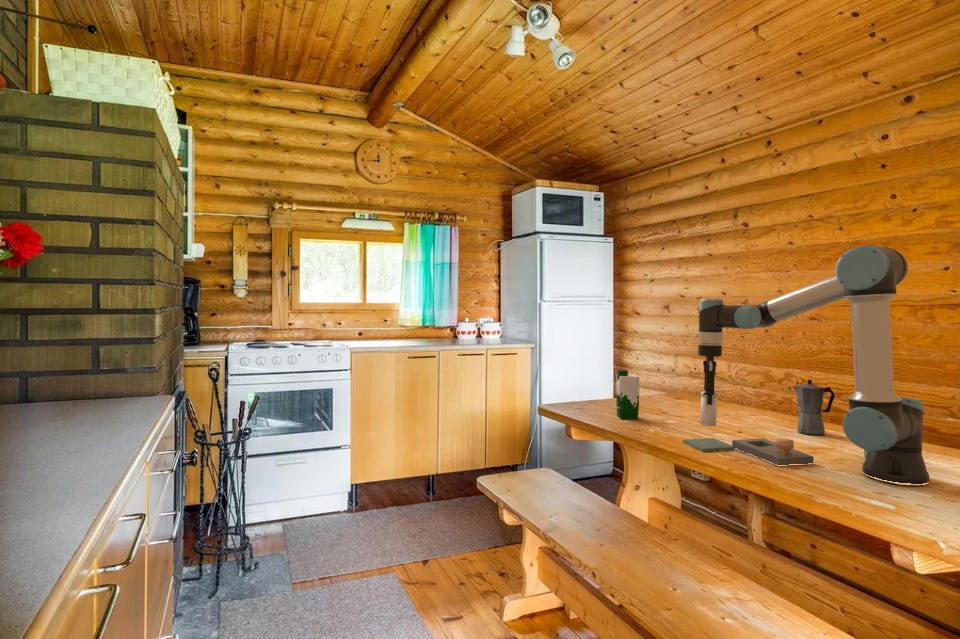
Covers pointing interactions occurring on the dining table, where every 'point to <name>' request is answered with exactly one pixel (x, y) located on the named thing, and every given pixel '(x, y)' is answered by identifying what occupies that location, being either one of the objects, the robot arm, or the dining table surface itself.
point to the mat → (708, 444)
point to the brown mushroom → (784, 446)
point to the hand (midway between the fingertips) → (708, 412)
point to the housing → (771, 452)
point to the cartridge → (708, 418)
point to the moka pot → (812, 407)
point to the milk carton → (627, 395)
